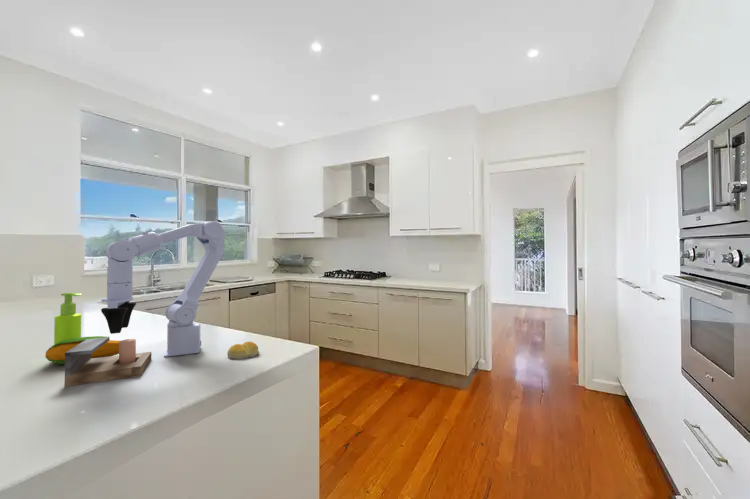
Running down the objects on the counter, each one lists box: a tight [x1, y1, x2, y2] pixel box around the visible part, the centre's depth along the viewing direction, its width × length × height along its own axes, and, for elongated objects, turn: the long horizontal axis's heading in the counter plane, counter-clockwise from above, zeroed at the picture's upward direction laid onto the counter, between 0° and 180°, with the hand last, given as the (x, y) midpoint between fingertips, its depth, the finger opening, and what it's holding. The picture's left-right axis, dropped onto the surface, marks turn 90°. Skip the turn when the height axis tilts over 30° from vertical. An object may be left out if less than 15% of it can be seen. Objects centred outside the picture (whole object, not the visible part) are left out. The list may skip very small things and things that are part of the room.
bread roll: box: [226, 341, 260, 360], centre depth 100 cm, size 8×9×4 cm
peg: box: [118, 338, 137, 364], centre depth 87 cm, size 4×4×8 cm
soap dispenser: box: [53, 292, 83, 345], centre depth 98 cm, size 6×7×20 cm
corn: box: [44, 335, 120, 365], centre depth 95 cm, size 7×8×20 cm
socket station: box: [63, 336, 152, 387], centre depth 86 cm, size 15×14×8 cm
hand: (119, 330), depth 91 cm, fingers open, 7 cm apart
